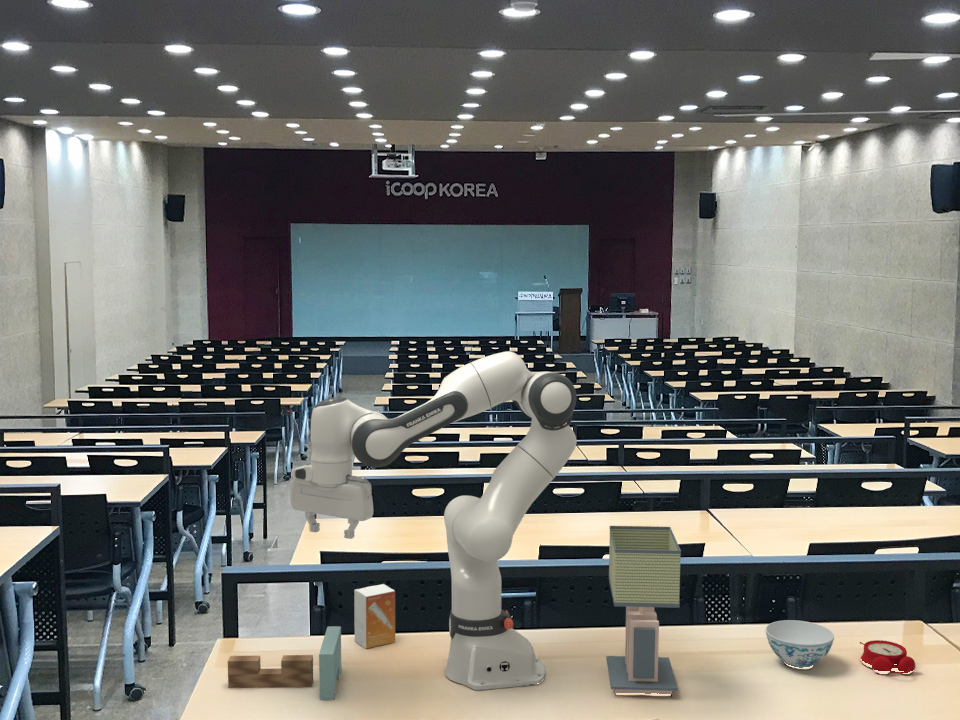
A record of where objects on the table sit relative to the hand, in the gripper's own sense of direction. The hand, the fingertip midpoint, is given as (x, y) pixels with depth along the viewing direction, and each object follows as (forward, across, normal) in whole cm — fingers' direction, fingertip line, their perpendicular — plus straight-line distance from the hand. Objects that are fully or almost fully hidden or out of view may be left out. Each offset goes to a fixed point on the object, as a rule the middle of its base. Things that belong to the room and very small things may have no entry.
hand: (331, 534), depth 230 cm
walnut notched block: (+33, +10, +9) cm, 35 cm away
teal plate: (+33, -1, +2) cm, 33 cm away
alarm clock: (+32, -106, -68) cm, 130 cm away
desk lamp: (+32, -60, -32) cm, 75 cm away
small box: (+33, +4, -22) cm, 40 cm away
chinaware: (+32, -88, -60) cm, 111 cm away
